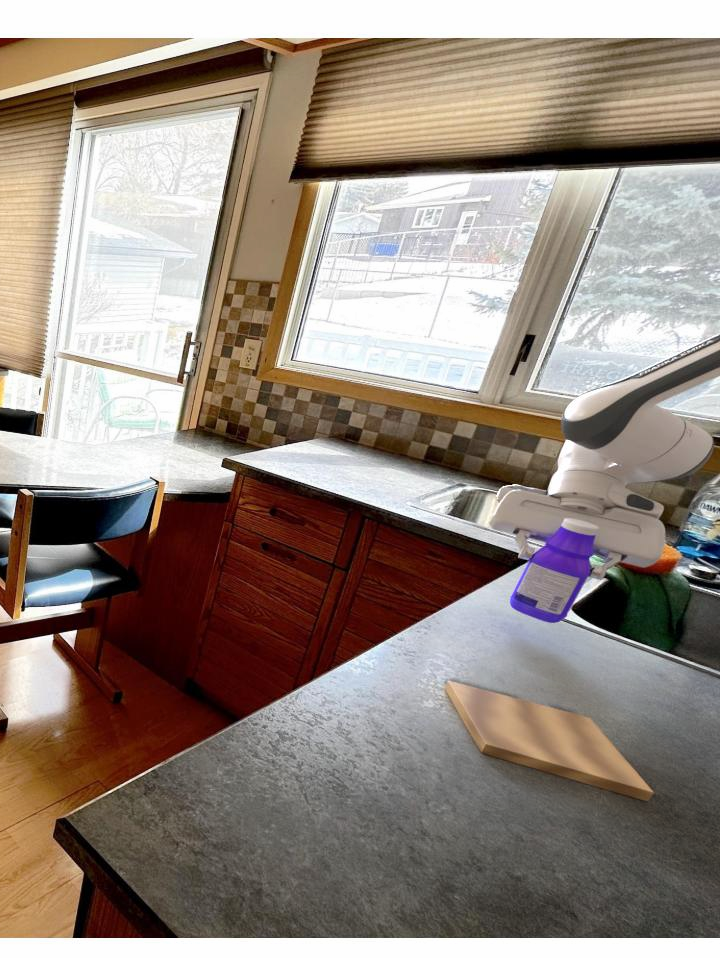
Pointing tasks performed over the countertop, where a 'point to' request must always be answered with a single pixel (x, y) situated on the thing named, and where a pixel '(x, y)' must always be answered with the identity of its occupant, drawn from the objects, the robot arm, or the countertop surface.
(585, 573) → the bottle
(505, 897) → the countertop surface
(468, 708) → the board
